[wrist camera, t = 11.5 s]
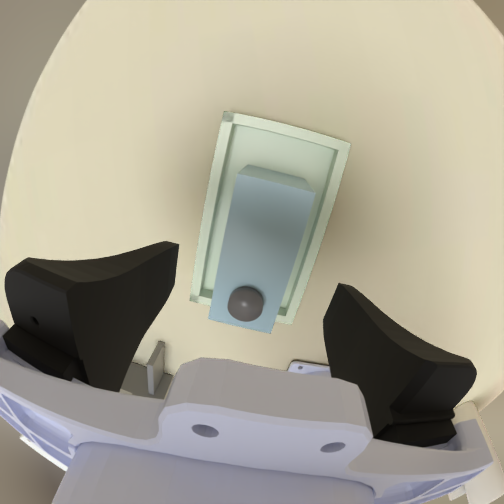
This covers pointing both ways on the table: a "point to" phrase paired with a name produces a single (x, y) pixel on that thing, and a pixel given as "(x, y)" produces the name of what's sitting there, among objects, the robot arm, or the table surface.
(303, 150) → the tray
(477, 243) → the table surface
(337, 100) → the table surface
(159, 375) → the bay
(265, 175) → the tall blue-grey prism
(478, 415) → the vase
